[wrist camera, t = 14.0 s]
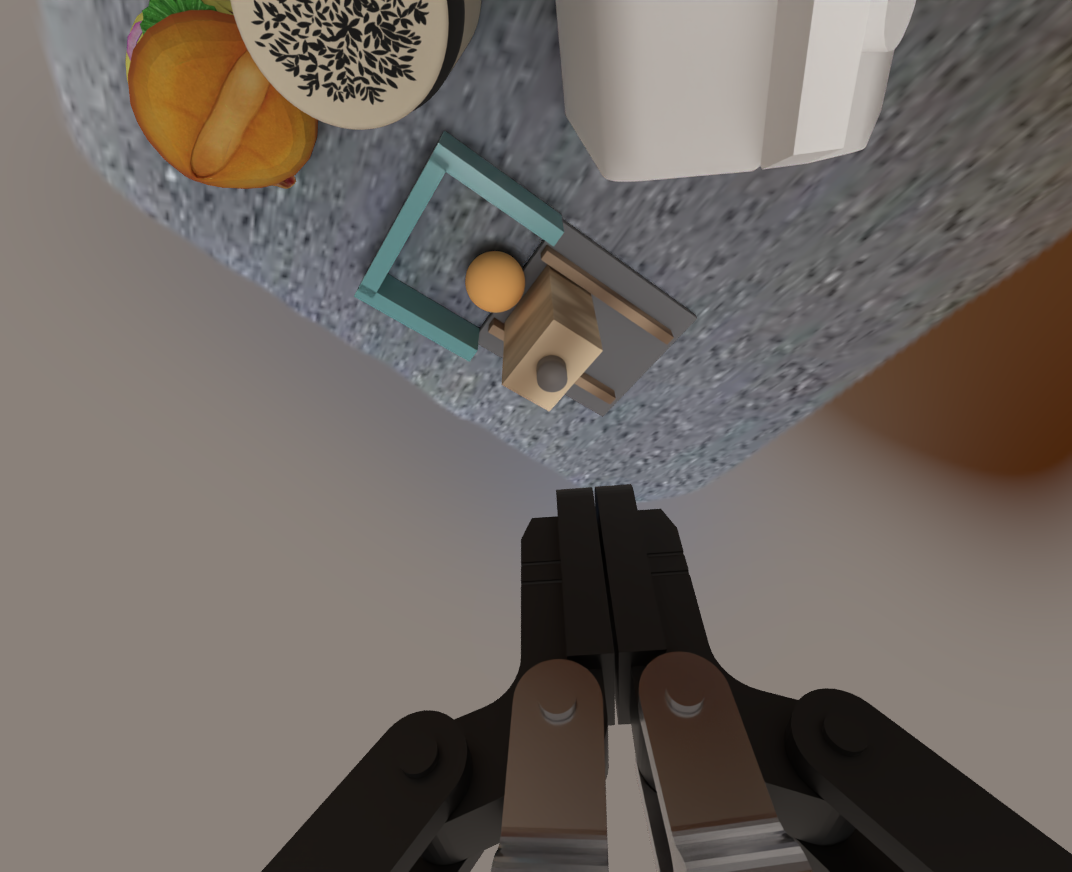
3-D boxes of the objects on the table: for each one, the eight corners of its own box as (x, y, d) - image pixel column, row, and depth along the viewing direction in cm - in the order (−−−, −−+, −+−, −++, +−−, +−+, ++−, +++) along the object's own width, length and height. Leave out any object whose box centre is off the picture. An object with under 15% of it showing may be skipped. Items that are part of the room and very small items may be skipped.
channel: (670, 330, 48) (674, 337, 47) (608, 396, 52) (610, 404, 51) (546, 244, 43) (547, 250, 43) (488, 324, 48) (487, 331, 47)
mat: (695, 314, 48) (697, 318, 47) (602, 412, 54) (602, 416, 54) (559, 217, 43) (560, 220, 42) (473, 337, 49) (473, 341, 48)
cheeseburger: (111, -31, 34) (50, -24, 26) (311, -3, 37) (307, 11, 29) (157, 159, 40) (118, 209, 32) (325, 170, 43) (325, 217, 35)
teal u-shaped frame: (561, 215, 43) (564, 232, 40) (472, 339, 49) (469, 361, 46) (444, 130, 39) (438, 143, 36) (364, 276, 45) (353, 296, 43)
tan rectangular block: (590, 290, 46) (605, 361, 38) (545, 346, 49) (549, 423, 41) (548, 262, 44) (554, 330, 36) (504, 321, 47) (501, 396, 39)
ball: (537, 269, 41) (496, 227, 42) (489, 307, 41) (449, 264, 41) (537, 298, 46) (500, 260, 46) (493, 333, 45) (457, 293, 46)
